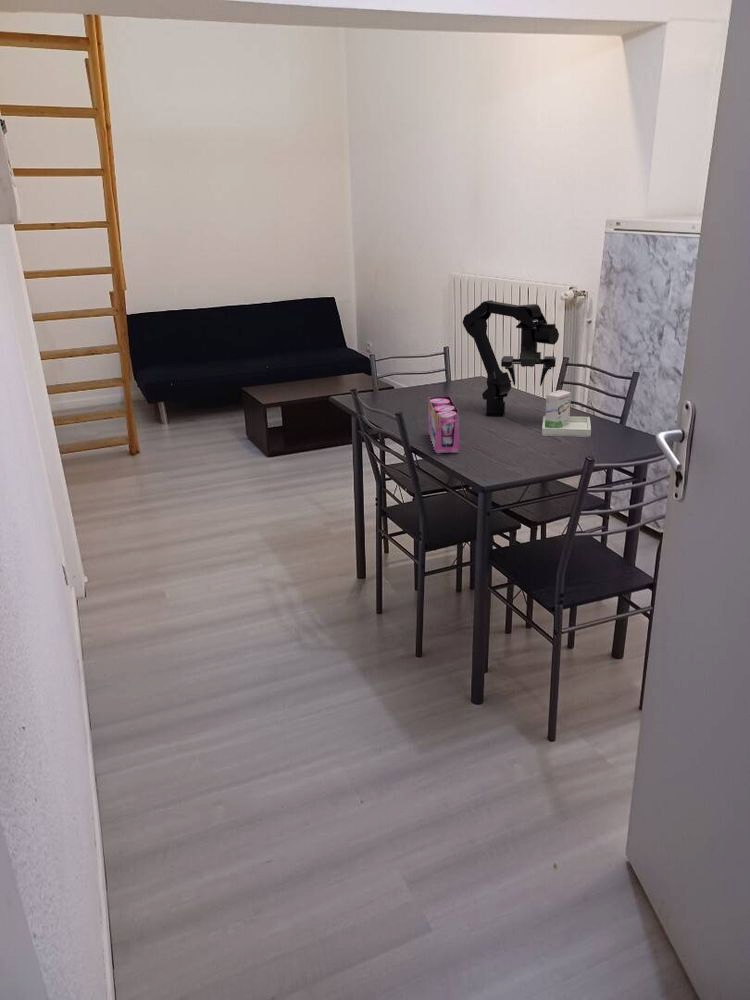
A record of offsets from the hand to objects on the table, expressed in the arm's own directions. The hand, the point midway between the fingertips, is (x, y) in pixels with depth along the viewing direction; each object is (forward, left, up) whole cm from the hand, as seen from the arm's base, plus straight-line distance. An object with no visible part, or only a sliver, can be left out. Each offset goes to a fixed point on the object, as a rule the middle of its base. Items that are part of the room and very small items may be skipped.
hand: (527, 385), depth 271 cm
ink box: (+11, -7, -13) cm, 18 cm away
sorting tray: (+14, -10, -13) cm, 22 cm away
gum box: (-26, -30, -13) cm, 42 cm away
